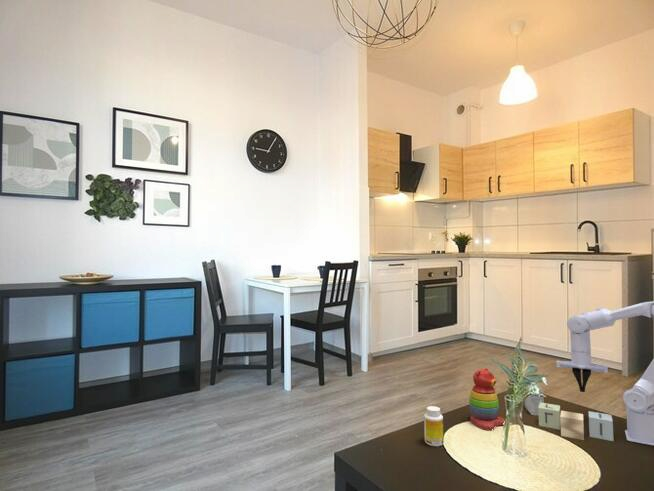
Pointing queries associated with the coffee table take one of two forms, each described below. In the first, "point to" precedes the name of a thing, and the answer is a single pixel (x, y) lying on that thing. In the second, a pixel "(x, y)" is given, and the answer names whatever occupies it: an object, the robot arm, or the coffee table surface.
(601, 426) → the pale grey cube
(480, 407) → the stacking bear
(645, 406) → the robot arm
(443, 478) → the coffee table surface
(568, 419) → the plain birch block
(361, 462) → the coffee table surface
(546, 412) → the green letter cube
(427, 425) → the supplement bottle
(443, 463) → the coffee table surface
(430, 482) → the coffee table surface
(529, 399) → the gray thick disc
